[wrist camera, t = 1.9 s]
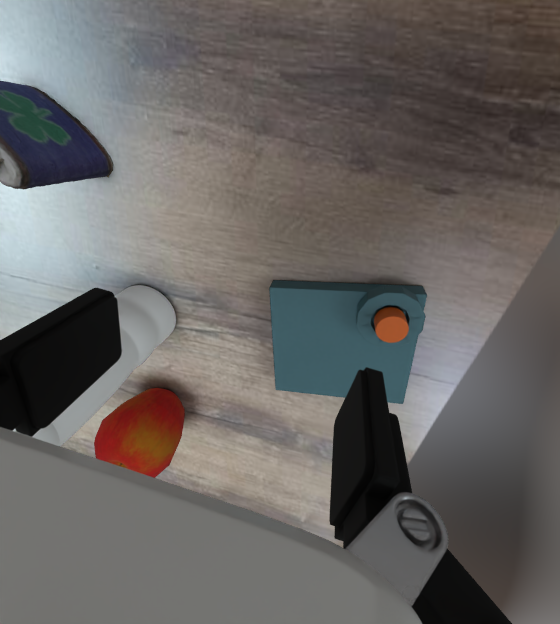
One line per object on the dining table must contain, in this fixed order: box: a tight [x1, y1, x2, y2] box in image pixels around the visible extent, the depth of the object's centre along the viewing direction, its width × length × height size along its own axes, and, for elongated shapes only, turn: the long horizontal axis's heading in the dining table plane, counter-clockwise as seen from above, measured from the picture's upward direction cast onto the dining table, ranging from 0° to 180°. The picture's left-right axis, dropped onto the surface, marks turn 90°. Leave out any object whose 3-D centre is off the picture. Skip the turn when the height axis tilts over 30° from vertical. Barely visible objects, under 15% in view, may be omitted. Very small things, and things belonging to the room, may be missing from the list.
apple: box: [94, 388, 185, 478], centre depth 36 cm, size 9×9×12 cm
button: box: [374, 307, 409, 343], centre depth 25 cm, size 3×3×2 cm
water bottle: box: [13, 285, 176, 446], centre depth 24 cm, size 7×7×25 cm
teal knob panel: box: [269, 280, 427, 404], centre depth 30 cm, size 14×14×4 cm
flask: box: [0, 81, 113, 189], centre depth 22 cm, size 9×3×11 cm, turn 46°
